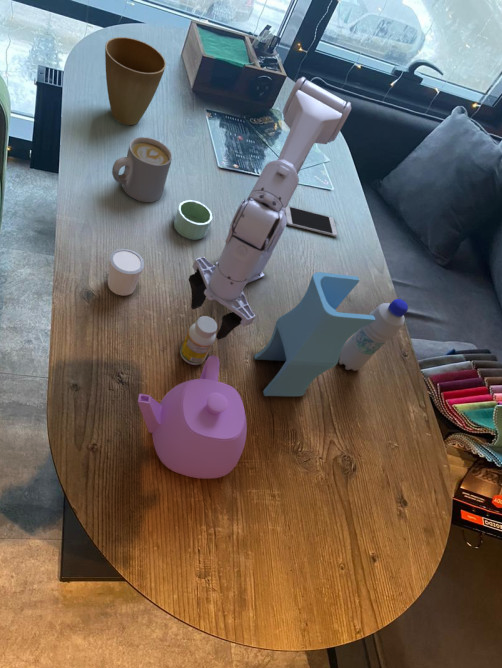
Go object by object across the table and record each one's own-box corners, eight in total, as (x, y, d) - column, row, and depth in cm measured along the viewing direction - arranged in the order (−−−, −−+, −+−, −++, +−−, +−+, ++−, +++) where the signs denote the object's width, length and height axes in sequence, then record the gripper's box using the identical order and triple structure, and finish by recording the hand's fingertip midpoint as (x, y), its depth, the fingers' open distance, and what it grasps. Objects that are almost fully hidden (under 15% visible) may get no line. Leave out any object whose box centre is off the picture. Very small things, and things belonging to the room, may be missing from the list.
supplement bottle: (193, 370, 99) (208, 340, 91) (174, 352, 100) (187, 321, 92) (210, 356, 102) (226, 327, 94) (191, 339, 103) (205, 308, 95)
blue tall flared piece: (306, 396, 104) (376, 320, 84) (264, 395, 101) (326, 315, 81) (295, 357, 109) (358, 276, 89) (253, 355, 106) (310, 270, 86)
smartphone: (284, 204, 136) (333, 217, 140) (283, 206, 137) (332, 219, 141) (287, 223, 132) (337, 235, 136) (286, 225, 133) (336, 237, 137)
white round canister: (132, 302, 103) (139, 278, 98) (100, 290, 102) (105, 265, 97) (141, 280, 107) (148, 255, 101) (110, 268, 106) (115, 243, 100)
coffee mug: (156, 176, 127) (166, 139, 119) (166, 203, 123) (176, 167, 115) (104, 171, 122) (110, 132, 114) (112, 200, 117) (119, 161, 109)
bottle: (362, 357, 116) (418, 299, 99) (358, 379, 112) (416, 322, 96) (336, 345, 115) (388, 284, 99) (331, 365, 111) (385, 306, 95)
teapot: (131, 378, 94) (149, 328, 82) (233, 398, 98) (263, 353, 86) (119, 476, 83) (136, 435, 71) (233, 493, 88) (268, 457, 76)
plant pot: (96, 94, 137) (105, 30, 124) (150, 108, 142) (163, 47, 129) (96, 127, 130) (105, 62, 117) (153, 140, 134) (168, 78, 122)
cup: (192, 212, 124) (198, 197, 120) (213, 234, 122) (219, 220, 118) (166, 219, 120) (171, 204, 116) (187, 243, 118) (192, 228, 114)
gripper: (188, 244, 81) (168, 300, 92) (244, 308, 78) (216, 358, 89) (220, 233, 85) (197, 288, 96) (275, 294, 81) (244, 344, 92)
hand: (208, 321), depth 93 cm, fingers open, 7 cm apart
